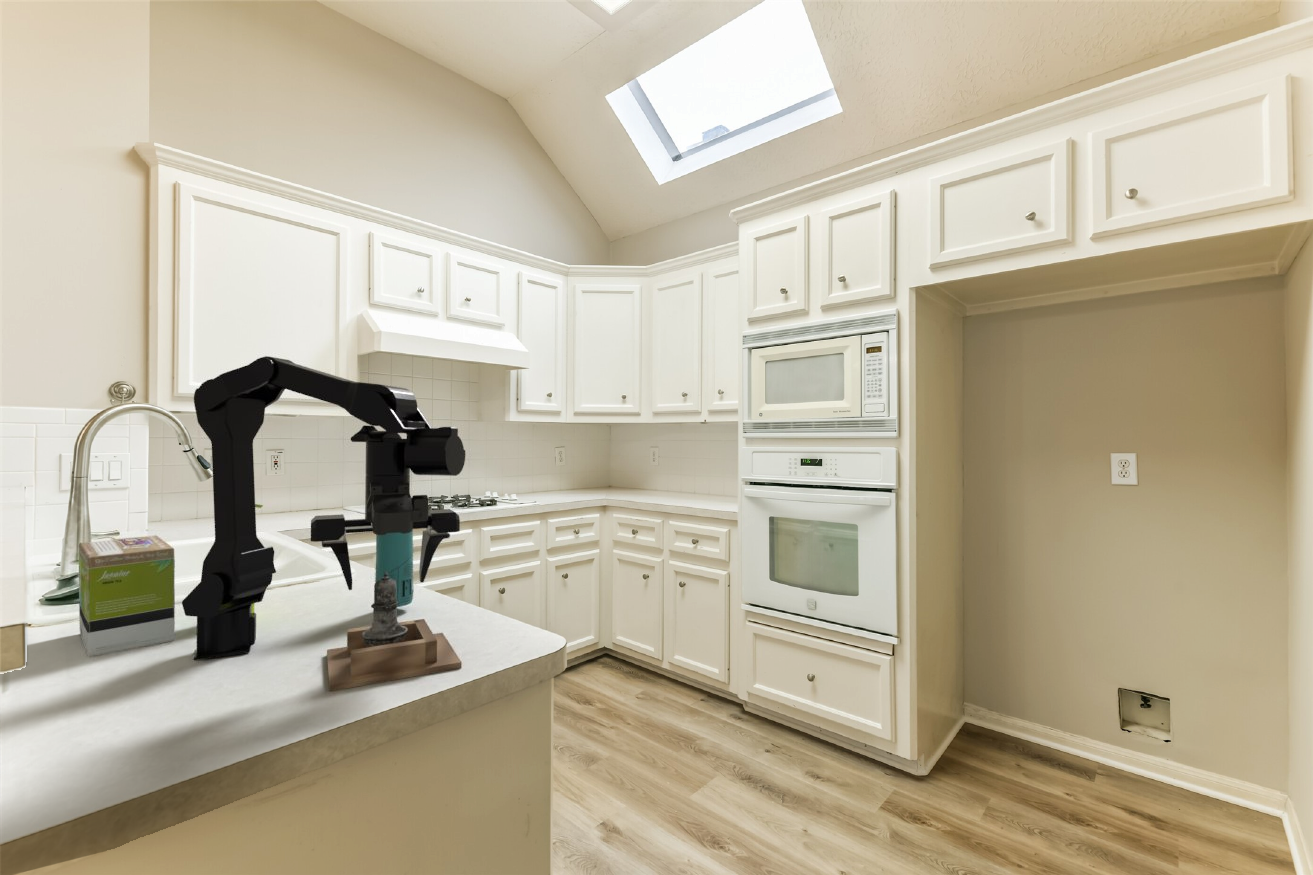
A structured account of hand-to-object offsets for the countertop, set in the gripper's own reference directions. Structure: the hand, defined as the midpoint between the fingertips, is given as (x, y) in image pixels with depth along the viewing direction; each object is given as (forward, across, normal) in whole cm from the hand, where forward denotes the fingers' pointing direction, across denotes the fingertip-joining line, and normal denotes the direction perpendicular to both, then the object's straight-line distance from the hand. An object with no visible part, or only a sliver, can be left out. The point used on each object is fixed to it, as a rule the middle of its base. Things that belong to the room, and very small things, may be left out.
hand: (386, 585), depth 83 cm
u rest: (+11, +1, 0) cm, 11 cm away
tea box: (+11, -34, +30) cm, 47 cm away
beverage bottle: (+11, +4, +26) cm, 29 cm away
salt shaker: (+10, 0, 0) cm, 10 cm away
